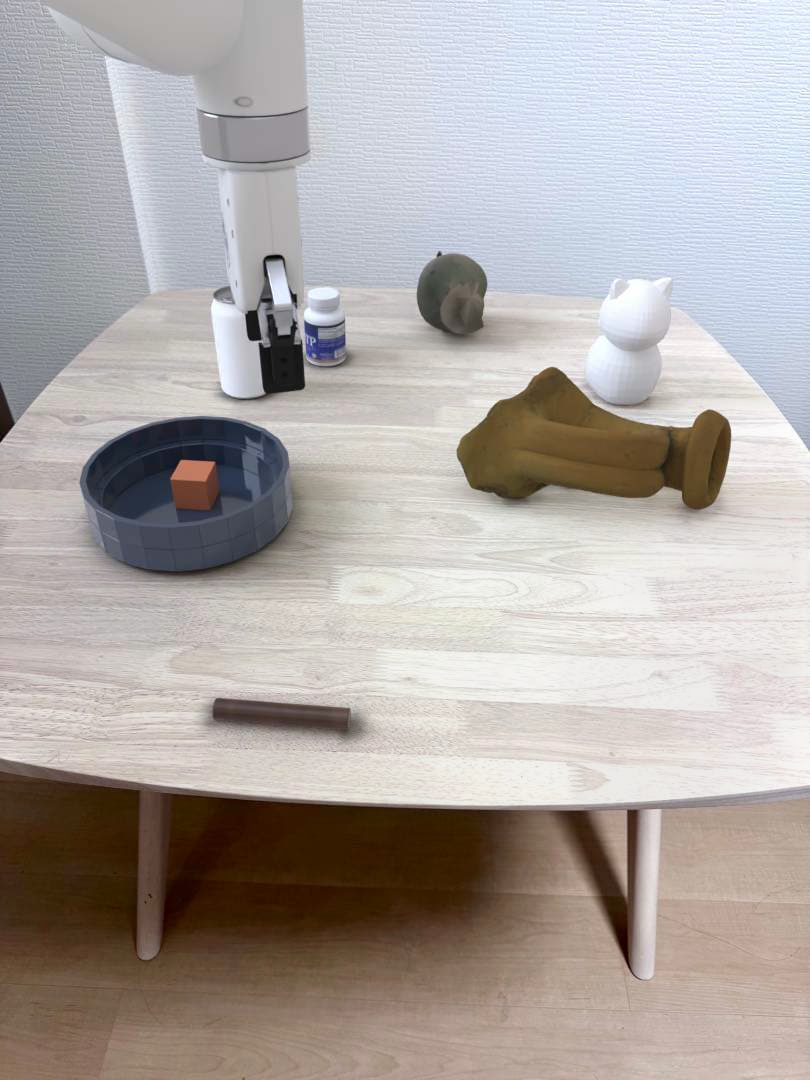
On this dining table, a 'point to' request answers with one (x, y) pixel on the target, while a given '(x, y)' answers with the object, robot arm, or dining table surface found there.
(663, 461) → the brown looped sculpture
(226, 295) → the can
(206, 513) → the bowl
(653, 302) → the cat figurine
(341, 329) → the pill bottle
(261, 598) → the dining table surface
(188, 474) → the block
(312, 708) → the stick
